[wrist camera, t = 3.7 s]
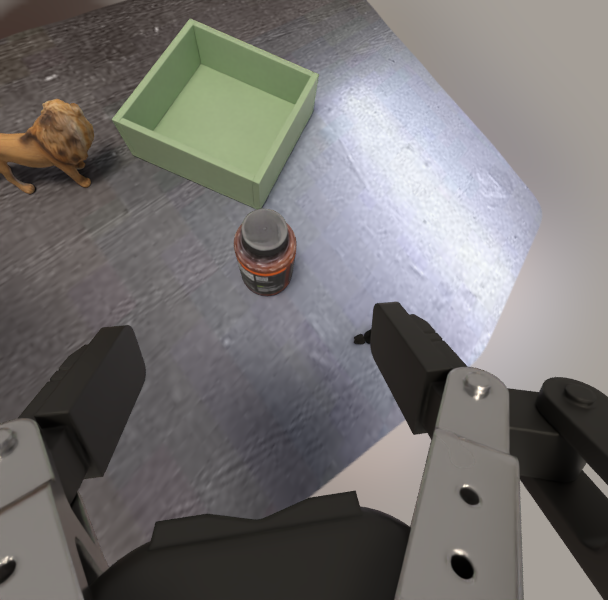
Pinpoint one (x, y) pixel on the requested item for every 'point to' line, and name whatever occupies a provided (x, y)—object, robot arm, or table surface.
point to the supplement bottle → (265, 251)
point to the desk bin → (219, 113)
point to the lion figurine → (50, 143)
